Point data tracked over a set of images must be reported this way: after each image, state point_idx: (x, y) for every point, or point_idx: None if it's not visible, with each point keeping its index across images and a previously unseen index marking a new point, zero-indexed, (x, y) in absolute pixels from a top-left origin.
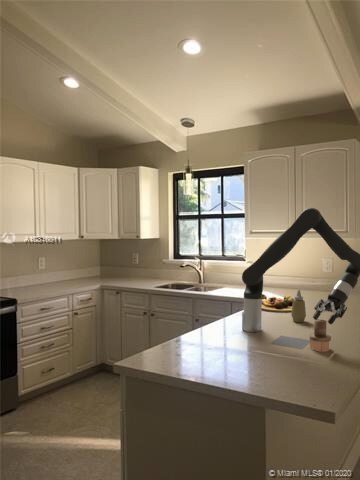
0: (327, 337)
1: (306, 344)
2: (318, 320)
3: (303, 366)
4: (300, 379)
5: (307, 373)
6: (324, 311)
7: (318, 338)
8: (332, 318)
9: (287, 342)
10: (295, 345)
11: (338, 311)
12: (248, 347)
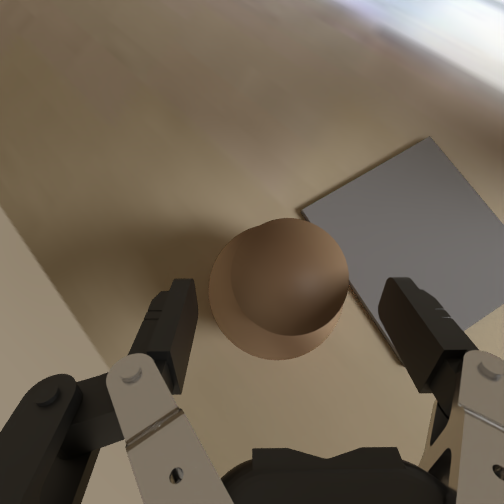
0: (229, 305)
1: (353, 282)
2: (311, 269)
3: (152, 89)
4: (77, 11)
5: (98, 58)
6: (422, 465)
7: (240, 236)
8: (151, 322)
9: (417, 220)
10: (360, 221)
11: (41, 442)
12: (427, 53)
